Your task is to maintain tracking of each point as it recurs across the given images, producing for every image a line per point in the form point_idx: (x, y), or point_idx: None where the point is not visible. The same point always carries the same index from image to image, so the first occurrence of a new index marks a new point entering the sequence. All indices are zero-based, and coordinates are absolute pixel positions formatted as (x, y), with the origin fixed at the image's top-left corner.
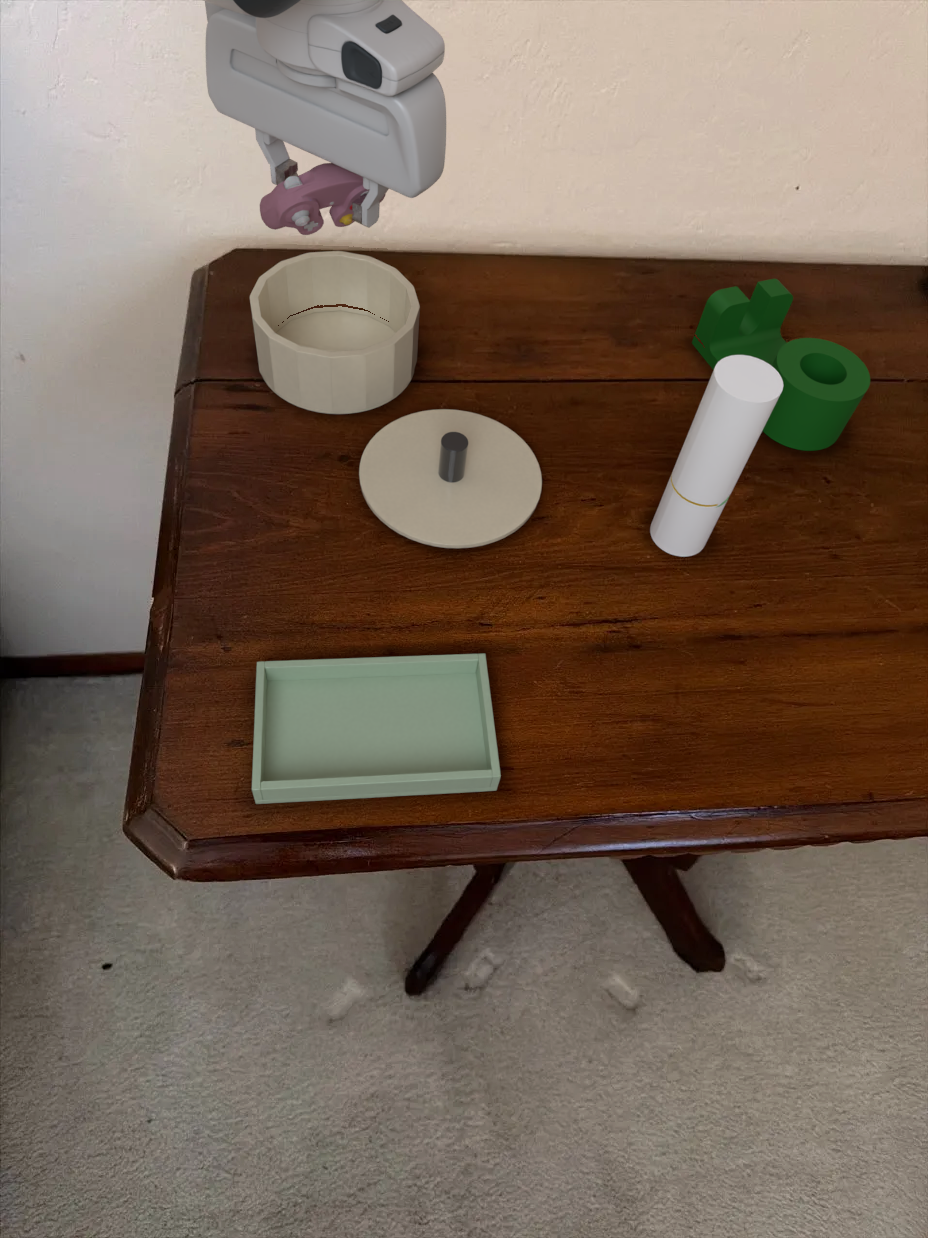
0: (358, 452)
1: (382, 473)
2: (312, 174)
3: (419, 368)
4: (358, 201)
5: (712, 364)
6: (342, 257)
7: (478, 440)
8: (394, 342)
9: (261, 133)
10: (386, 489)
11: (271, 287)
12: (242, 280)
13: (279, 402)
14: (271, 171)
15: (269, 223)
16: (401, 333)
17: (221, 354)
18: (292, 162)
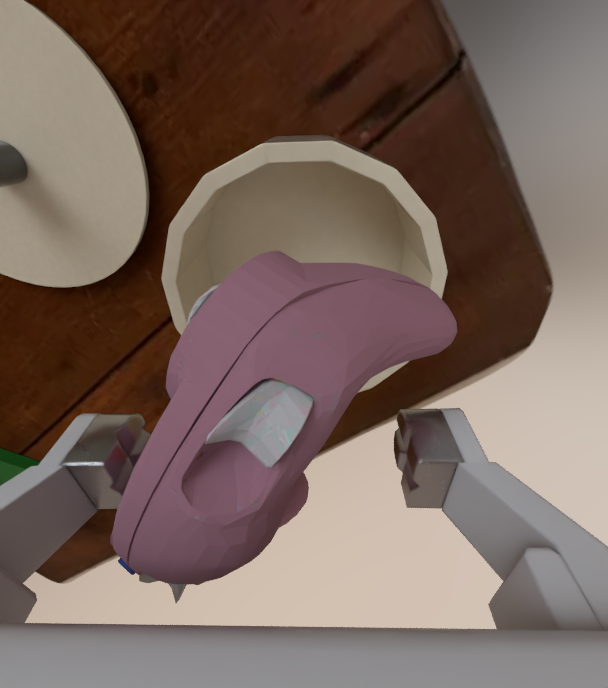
0: (146, 115)
1: (58, 80)
2: (209, 507)
3: None
4: (97, 475)
5: (36, 464)
6: None
7: (48, 244)
8: (163, 282)
9: (597, 596)
10: (21, 48)
11: (424, 275)
12: (502, 302)
13: (312, 125)
14: (472, 439)
15: (373, 267)
16: (172, 304)
17: (453, 155)
18: (421, 500)
